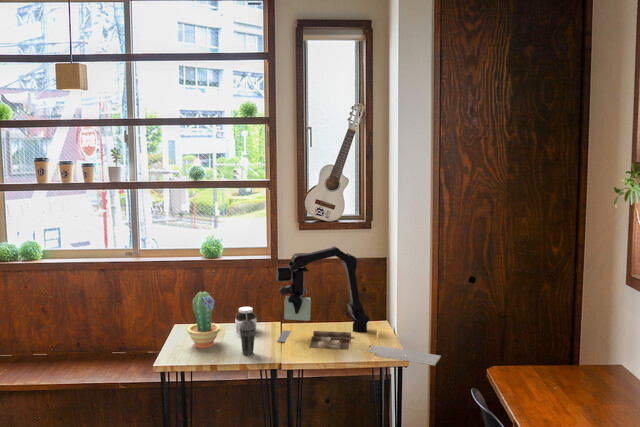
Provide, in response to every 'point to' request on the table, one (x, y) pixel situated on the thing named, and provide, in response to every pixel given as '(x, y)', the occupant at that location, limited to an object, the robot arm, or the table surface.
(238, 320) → the spread jar
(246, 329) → the beverage cup
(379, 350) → the baseboard molding
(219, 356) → the table surface
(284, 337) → the rubber mat
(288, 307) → the tall board
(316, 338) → the board rack
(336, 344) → the offcut stack
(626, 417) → the table surface
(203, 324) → the potted cactus
